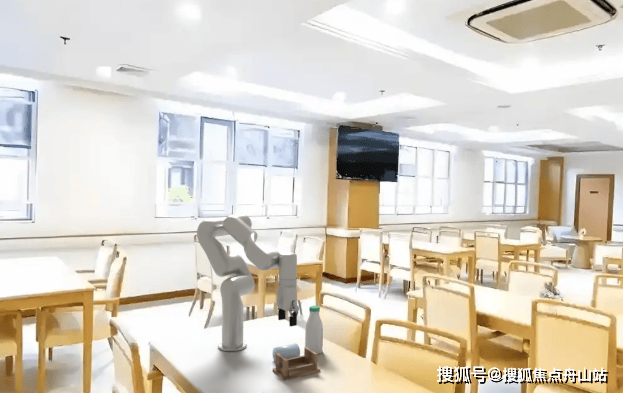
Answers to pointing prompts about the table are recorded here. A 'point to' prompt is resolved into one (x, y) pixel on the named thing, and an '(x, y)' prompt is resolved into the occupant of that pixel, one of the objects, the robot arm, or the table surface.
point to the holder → (296, 365)
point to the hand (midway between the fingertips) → (287, 322)
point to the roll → (287, 351)
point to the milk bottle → (314, 330)
